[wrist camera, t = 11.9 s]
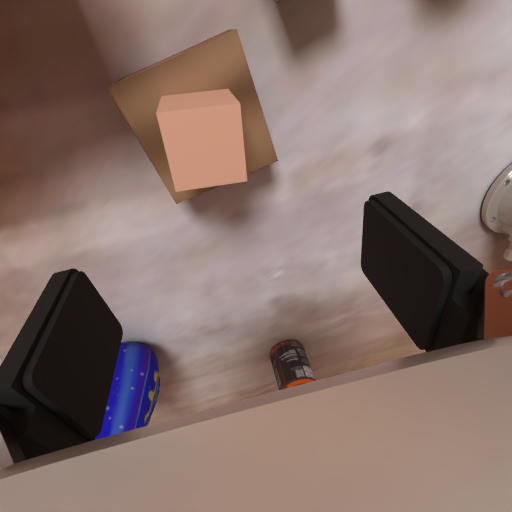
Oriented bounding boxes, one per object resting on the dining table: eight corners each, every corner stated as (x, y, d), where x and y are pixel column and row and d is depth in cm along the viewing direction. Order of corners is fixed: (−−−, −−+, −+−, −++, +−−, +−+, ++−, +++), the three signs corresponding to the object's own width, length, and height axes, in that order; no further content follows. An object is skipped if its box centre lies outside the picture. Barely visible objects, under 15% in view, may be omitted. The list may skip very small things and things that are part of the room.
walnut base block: (265, 144, 31) (277, 160, 27) (177, 182, 32) (176, 204, 28) (228, 29, 25) (236, 29, 21) (119, 79, 25) (107, 88, 21)
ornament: (159, 372, 49) (151, 480, 37) (97, 374, 46) (67, 491, 35) (165, 326, 43) (158, 437, 31) (93, 325, 40) (56, 446, 29)
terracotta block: (235, 154, 26) (247, 181, 21) (176, 162, 25) (175, 191, 21) (227, 88, 23) (240, 103, 18) (161, 96, 22) (156, 112, 18)
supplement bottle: (277, 364, 54) (295, 430, 45) (263, 348, 51) (280, 416, 42) (307, 350, 53) (332, 414, 44) (295, 333, 50) (319, 399, 41)
